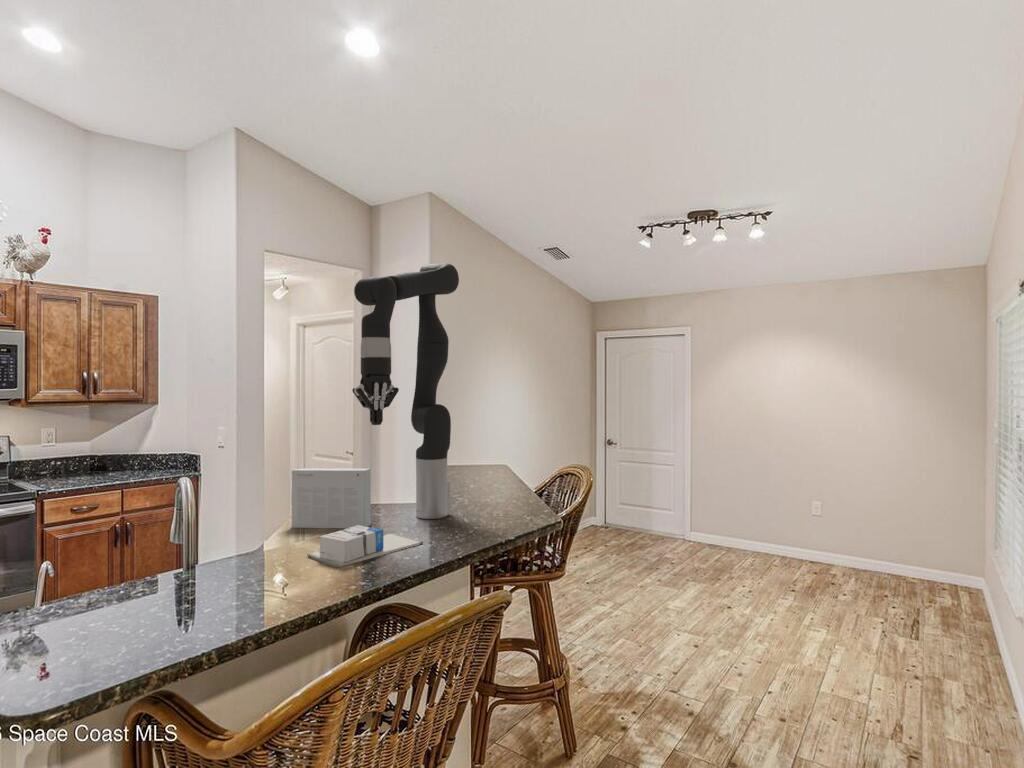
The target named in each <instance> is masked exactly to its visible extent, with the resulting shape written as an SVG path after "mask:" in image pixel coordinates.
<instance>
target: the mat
mask: <svg viewBox="0 0 1024 768" xmlns="http://www.w3.org/2000/svg"><path fill="white" fill-rule="evenodd" d="M420 544H421V545H424V541H423V540H419V539H416V538H413V537H408V536H404V535H401V534H398V533H394V532H392V533H388V534H383V546H384V548H383V550H380V551H377V552H374V553H371V554H368V555H365V556H363V557H360V558H357V559H354V560H351V561H348V562H344V563H341V562H337V561H333V560H329V559H324V558H321V557H320V550H319V551H314V552H310V553H306V557H307V556H308V557H307V558H309V557H311V558H310V559H312V558H314V559H316V560H315V561H317V560H319V561H321V562H320V563H322V562H323V563H322V564H325V563H326V564H325V565H327V564H328V566H331V567H334V568H335V569H337V568H341V567H344V566H347V565H352V564H355V563H359V562H363V561H365V560H370V559H373V558H377V557H381V556H384V554H385V555H387V554H391V552H392V553H395V552H394V551H396V552H399V551H402V550H401V549H403V550H406V549H410V548H413V546H414V547H417V546H420ZM409 547H410V548H409ZM405 548H406V549H405ZM398 550H399V551H398ZM314 559H313V560H314ZM319 561H318V562H319Z"/></svg>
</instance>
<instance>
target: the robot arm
mask: <svg viewBox="0 0 1024 768" xmlns="http://www.w3.org/2000/svg"><path fill="white" fill-rule="evenodd" d="M459 275H460V274H459V272H458V269H456V267H455V266H454V265H453V264H451V263H447V262H446V263H444V262H443V263H442V262H441V263H429V264H424V265H422V266H421V267H420V269H419V271H410V272H409V271H408V272H406V271H405V272H399V273H391V274H390V275H380V276H370V277H363V278H361V279H359V280H358V281H356V284H355V286H354V289H353V292H354V297H355V299H356V300H357V302H359V303H360V304H362V305H364V306H371V307H372V306H374V308H373V311H372V312H370V313H368V314H365V315H363V316H362V318H361V340H360V341H361V342H360V374H361V379H360V382H359V384H358V385H357V387H354V388H352V393H353V394H354V396H355V397H356V399H357V401H359V403H360V404H361V406H362V407H363V408H366V409H369V422H370V424H371V425H372V426H380V425H382V423H383V421H384V420H383V419H384V416H383V413H384V412H383V410H384V409H386V408H390V406H391V404H392V402H393V401H394V399H395V398H396V396H397V395H398V392H399V391H400V389H399V387H396V386H394V385H393V384H392V379H391V374H392V345H391V322H392V321H391V320H392V317H393V313H394V309H395V305H396V301H402V300H406V299H411V298H415V297H418V334H417V347H416V369H415V370H416V372H415V386H414V393H413V400H412V401H413V402H412V408H411V413H410V414H411V416H410V421H411V426H412V428H413V429H414V431H415V432H417V433H419V434H421V435H423V438H422V439H423V440H422V444H421V445H420V446H419V447H417V448H416V450H415V469H416V470H415V495H416V496H415V497H416V498H415V499H416V500H415V502H416V503H415V504H416V505H415V506H416V507H415V515H416V516H415V517H416V518H419V519H423V520H424V519H425V520H435V519H436V520H437V519H443V518H446V517H447V516H449V515H450V514H451V483H450V482H449V481H448V451H449V449H450V445H451V434H452V433H451V430H452V429H451V428H452V421H451V420H452V419H451V414H450V411H449V409H448V408H447V407H446V406H444V405H443V404H439V403H437V389H438V386H439V382H440V380H441V378H442V376H443V373H444V371H445V369H446V367H447V364H448V358H449V342H450V341H449V336H448V333H447V331H446V329H445V326H444V325H443V322H441V320H440V318H439V315H438V312H437V309H436V297H437V295H438V296H439V295H441V296H442V295H450V294H452V293H454V292H455V291H457V288H458V287H459V283H460V282H459V281H460V277H459Z"/></svg>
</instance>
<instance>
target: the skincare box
mask: <svg viewBox="0 0 1024 768" xmlns="http://www.w3.org/2000/svg"><path fill="white" fill-rule="evenodd" d="M371 475H372V472H371V468H352V467H351V468H349V467H345V468H342V467H338V468H330V467H329V468H327V467H326V468H320V467H317V468H314V467H313V468H310V467H309V468H305V467H304V468H296V469H291V497H290V498H291V500H290V501H291V502H290V503H291V524H290V525H291V529H292V528H293V529H343V530H344V529H347V528H350V527H354V526H357V525H360V526H365V527H370V526H371V523H372V522H371V518H372V517H371V508H372V507H371V505H372V504H371V503H372V502H371V500H372V499H371V497H372V496H371V495H372V494H371V491H372V489H371V483H372V482H371V479H372V478H371V477H372V476H371Z"/></svg>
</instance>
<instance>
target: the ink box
mask: <svg viewBox="0 0 1024 768" xmlns="http://www.w3.org/2000/svg"><path fill="white" fill-rule="evenodd" d="M383 535H384V529H381V528H375V527H370V526H368V527H365V526H360V525H357V526H354V527H350V528H347V529H344V528H343V529H341V530H338V531H335V532H330V533H328V534H323V535H321V536H319V551H320V557H321V558H324V559H329V560H333V561H337V562H341V563H344V562H348V561H351V560H354V559H357V558H360V557H363V556H365V555H368V554H371V553H374V552H377V551H380V550H383V548H384V546H383Z"/></svg>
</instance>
